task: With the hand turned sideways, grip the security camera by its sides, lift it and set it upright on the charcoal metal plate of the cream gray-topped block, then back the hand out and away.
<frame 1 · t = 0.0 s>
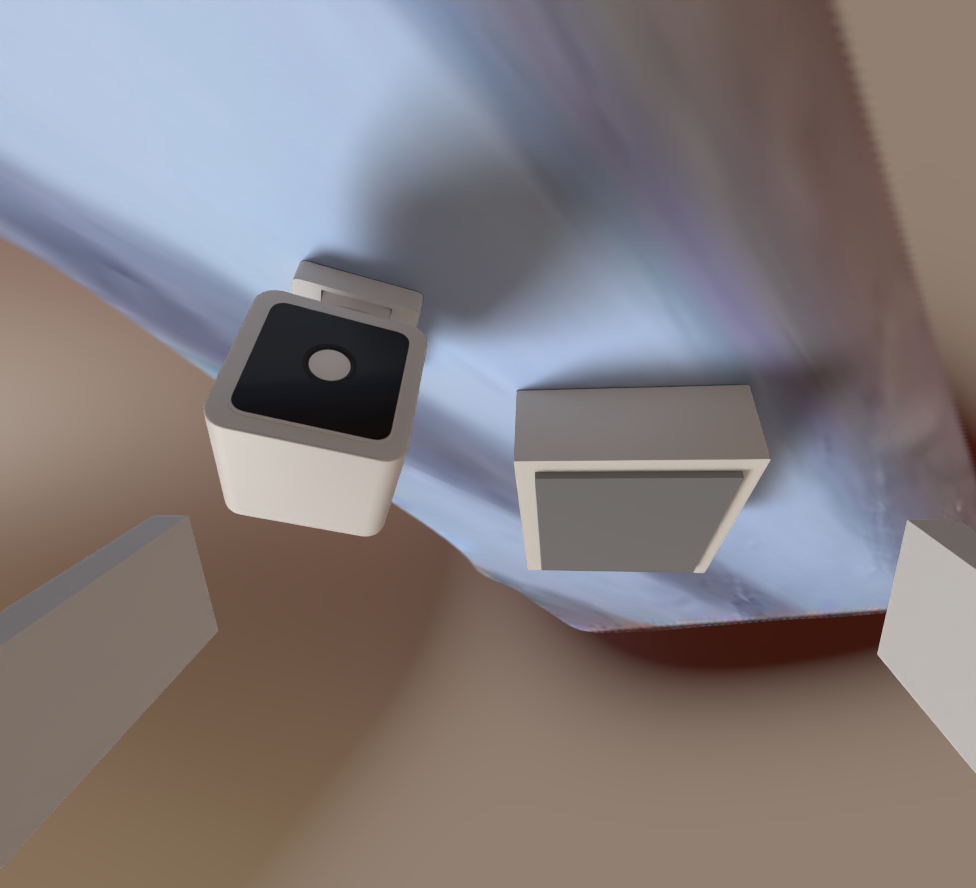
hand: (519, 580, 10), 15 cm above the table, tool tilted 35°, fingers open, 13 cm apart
security camera: (360, 306, 25), on the table
cream gray-topped block: (618, 460, 34), on the table
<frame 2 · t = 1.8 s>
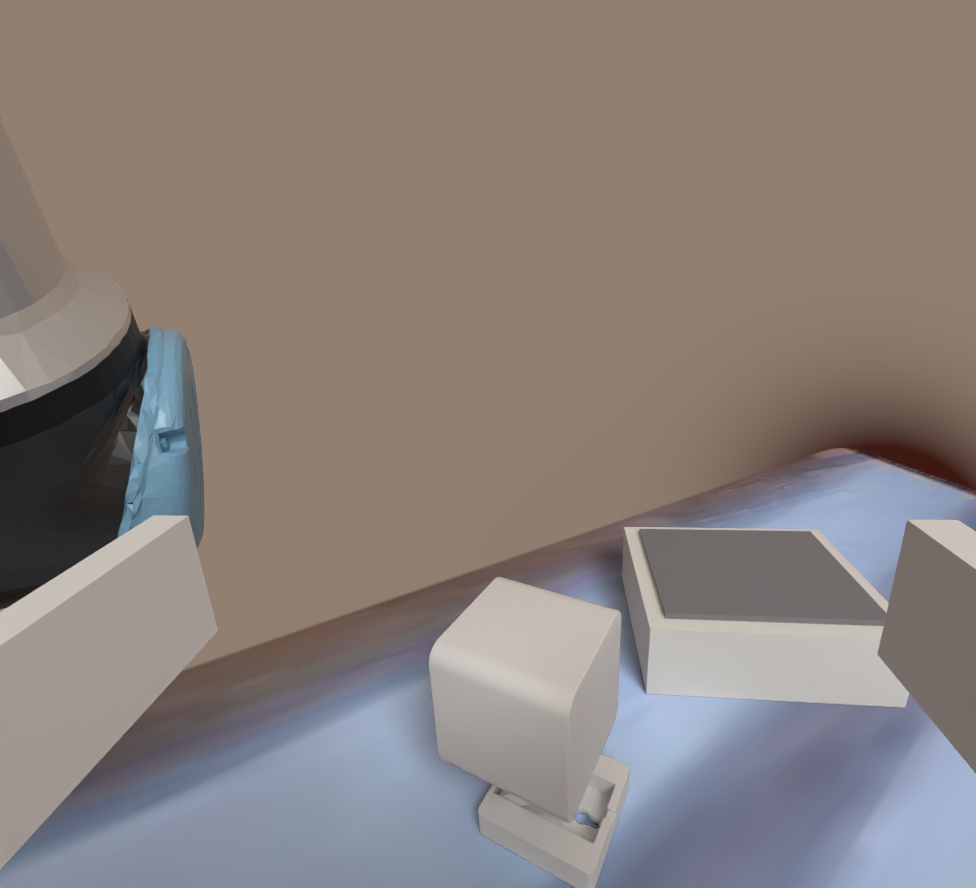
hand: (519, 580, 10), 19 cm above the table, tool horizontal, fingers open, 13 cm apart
security camera: (541, 803, 25), on the table
cream gray-topped block: (737, 630, 36), on the table
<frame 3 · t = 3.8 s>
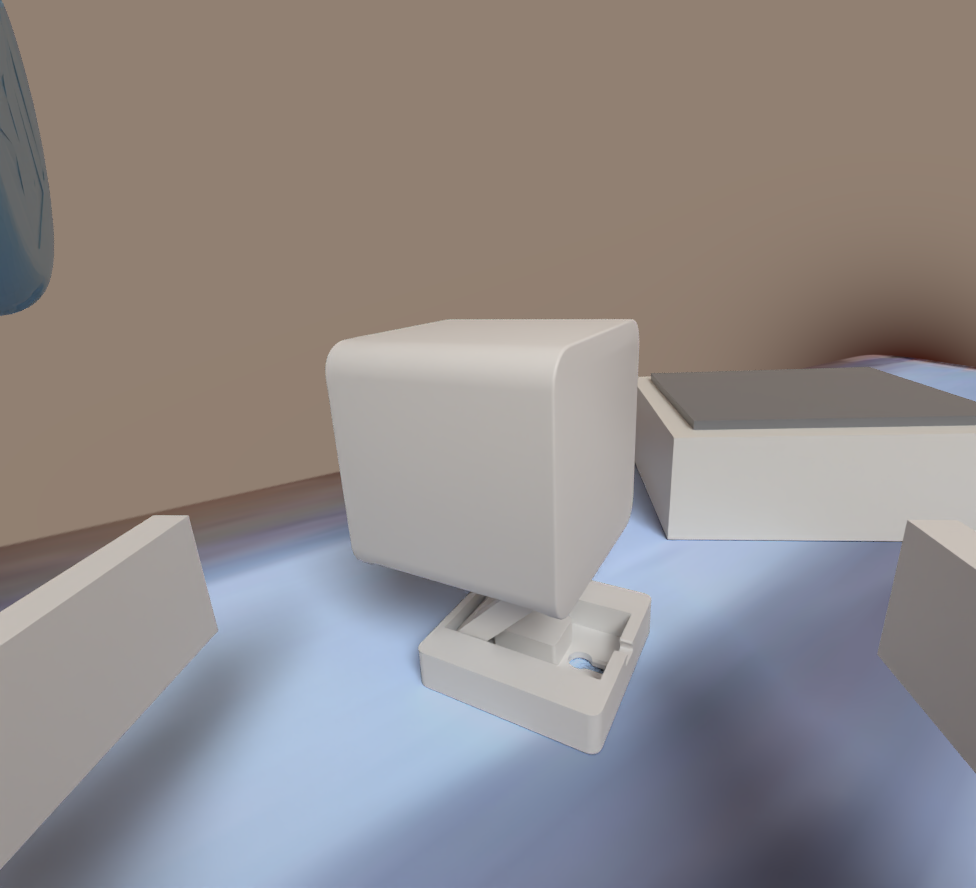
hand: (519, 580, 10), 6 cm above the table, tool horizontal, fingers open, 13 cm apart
security camera: (519, 652, 17), on the table
cream gray-topped block: (782, 483, 27), on the table
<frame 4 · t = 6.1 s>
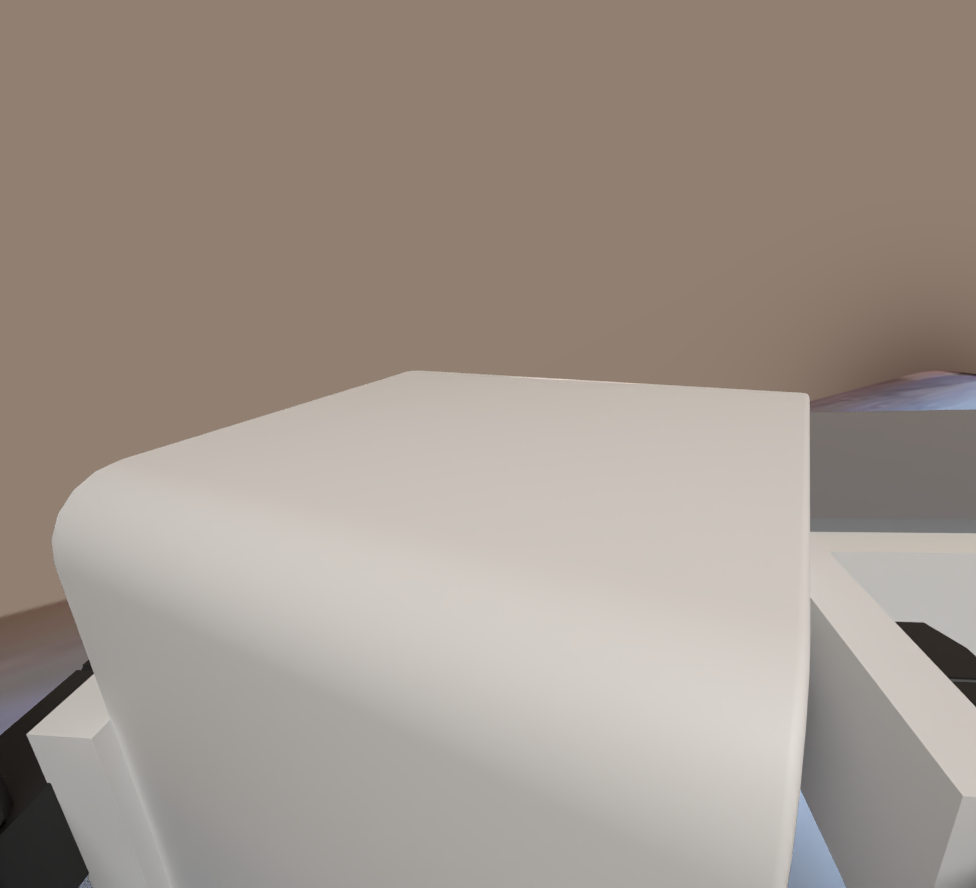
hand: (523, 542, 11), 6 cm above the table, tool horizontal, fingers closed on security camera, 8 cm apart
cream gray-topped block: (897, 580, 19), on the table
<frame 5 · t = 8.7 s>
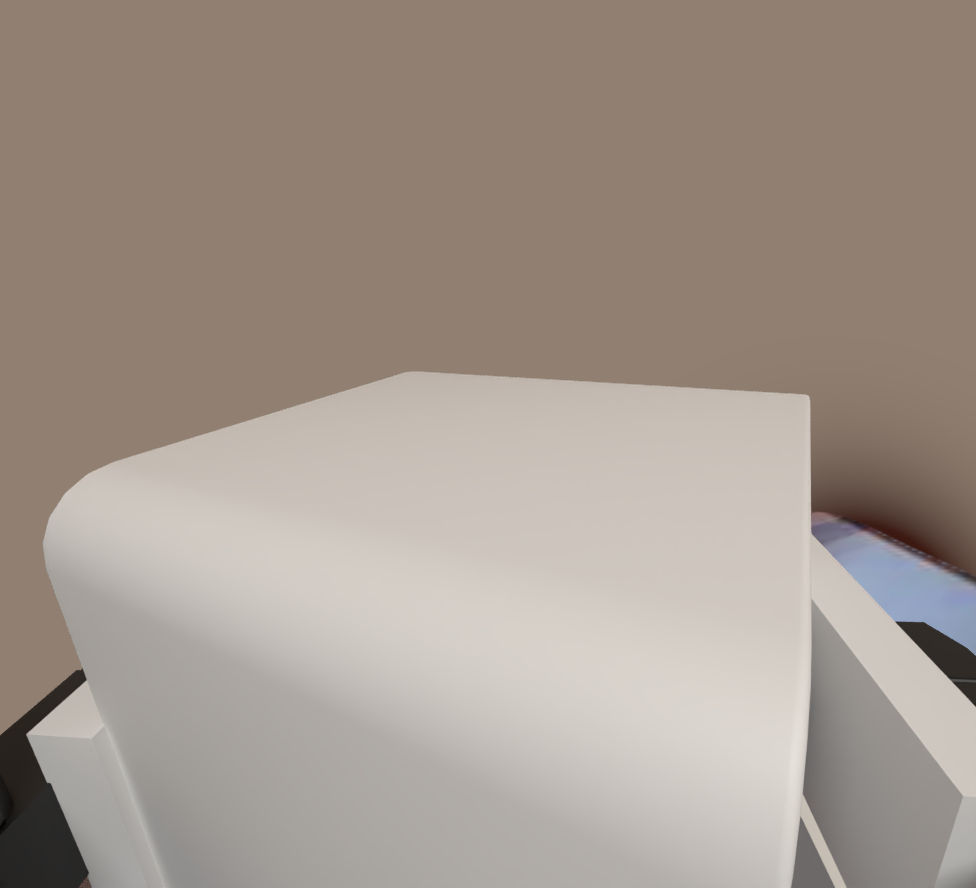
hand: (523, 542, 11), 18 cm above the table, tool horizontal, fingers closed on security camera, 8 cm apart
when the fingers open (12 cm above the table, at t = 11.1 s): security camera stays where it is, resting on cream gray-topped block.
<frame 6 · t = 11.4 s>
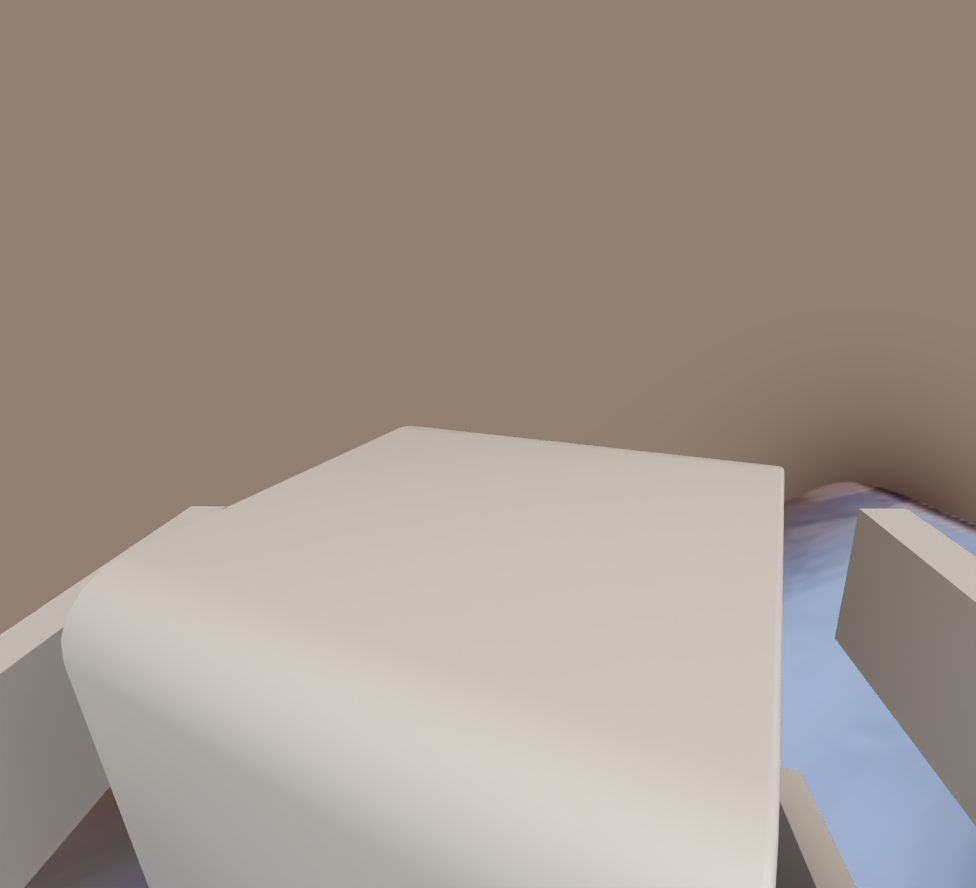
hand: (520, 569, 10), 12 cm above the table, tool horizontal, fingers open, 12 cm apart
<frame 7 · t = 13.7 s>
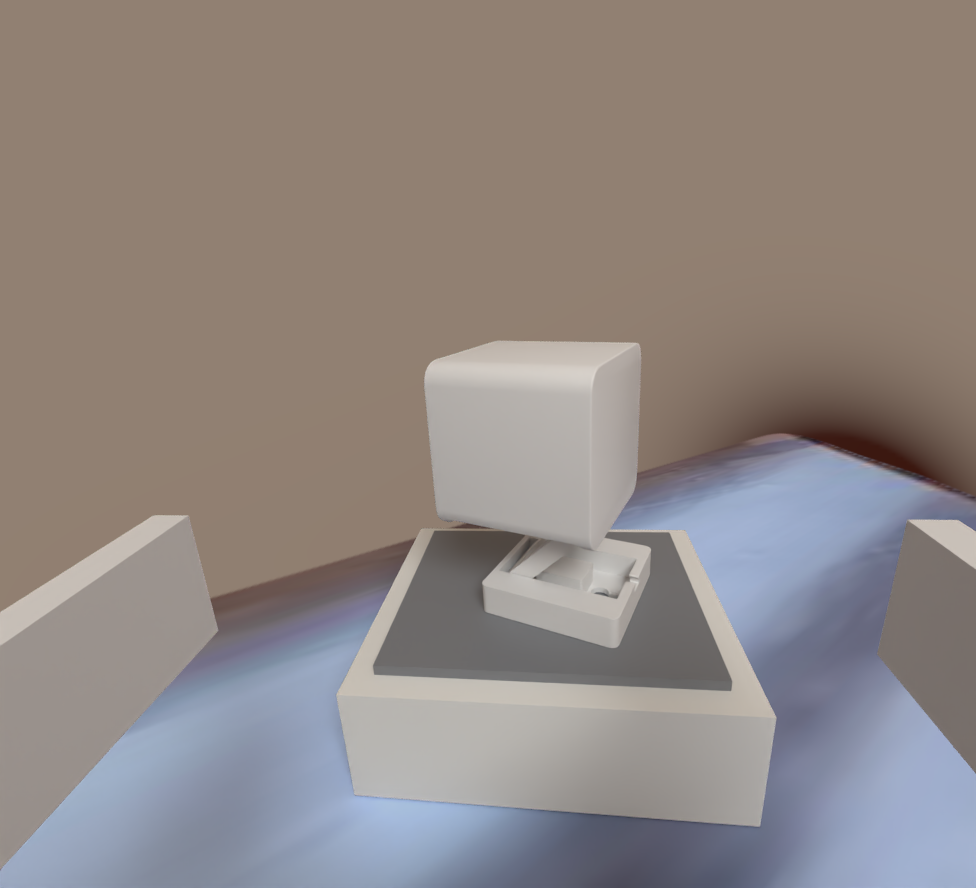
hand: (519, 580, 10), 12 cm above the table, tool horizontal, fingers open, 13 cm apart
security camera: (553, 590, 22), point 5 cm above the table, touching cream gray-topped block
cream gray-topped block: (549, 681, 24), on the table
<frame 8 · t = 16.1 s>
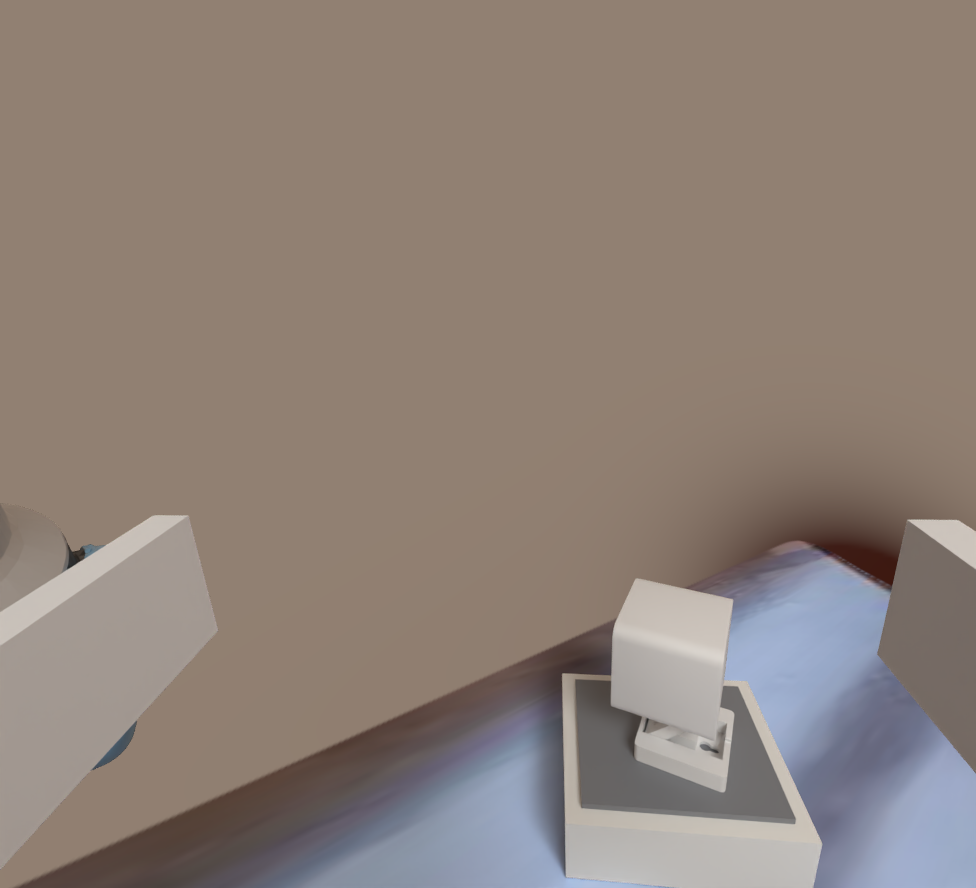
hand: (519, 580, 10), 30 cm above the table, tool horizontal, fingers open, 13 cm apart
security camera: (672, 740, 35), point 5 cm above the table, touching cream gray-topped block
cream gray-topped block: (664, 793, 37), on the table
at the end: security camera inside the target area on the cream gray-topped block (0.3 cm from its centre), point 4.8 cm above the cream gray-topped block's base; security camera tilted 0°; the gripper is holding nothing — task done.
